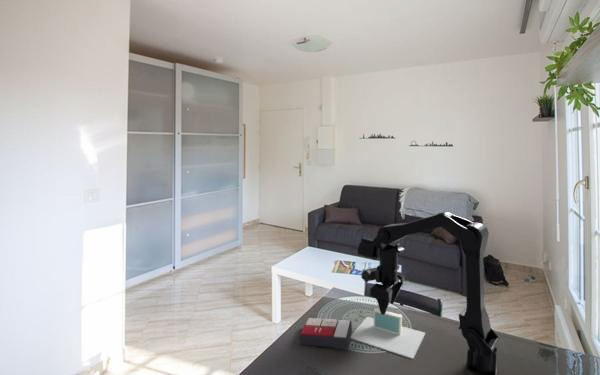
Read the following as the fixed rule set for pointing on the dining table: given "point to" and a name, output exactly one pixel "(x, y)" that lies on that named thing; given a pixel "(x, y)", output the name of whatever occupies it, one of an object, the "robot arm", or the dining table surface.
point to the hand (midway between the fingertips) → (387, 308)
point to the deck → (388, 321)
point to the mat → (389, 338)
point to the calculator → (327, 333)
